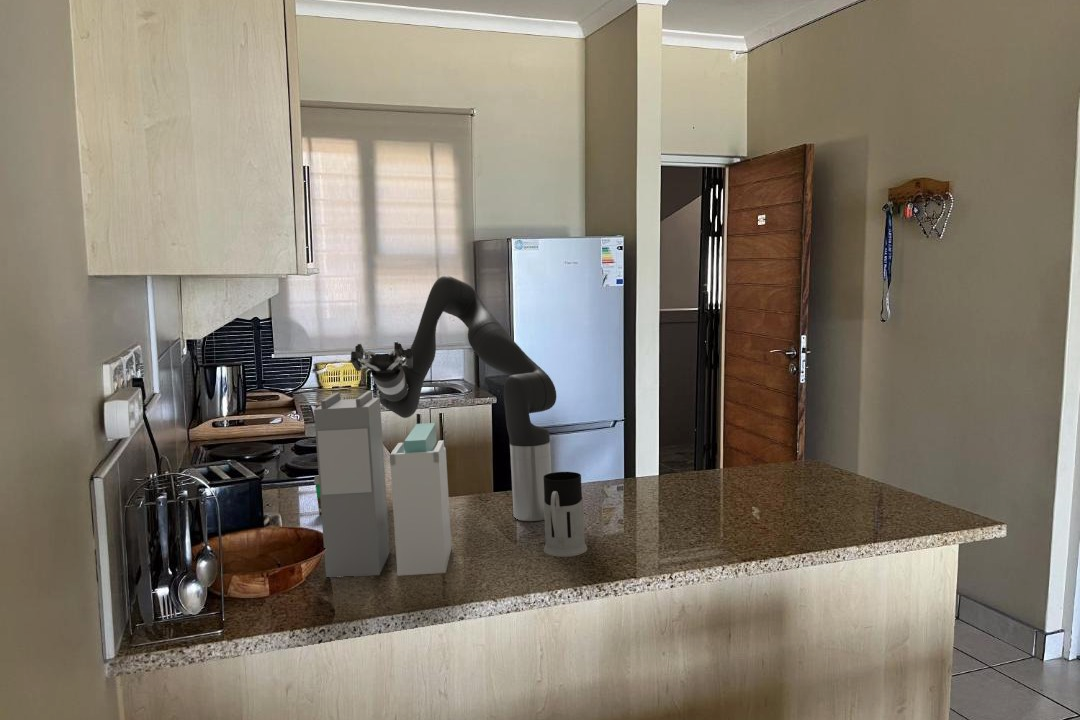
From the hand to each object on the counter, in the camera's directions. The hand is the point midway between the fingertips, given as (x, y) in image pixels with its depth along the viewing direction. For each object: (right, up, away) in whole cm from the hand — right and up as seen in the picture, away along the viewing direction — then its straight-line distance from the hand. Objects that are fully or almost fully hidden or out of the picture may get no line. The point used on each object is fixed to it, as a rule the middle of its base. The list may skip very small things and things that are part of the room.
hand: (377, 346), depth 187 cm
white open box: (+15, -43, -28) cm, 53 cm away
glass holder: (+42, -42, -27) cm, 65 cm away
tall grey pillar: (+2, -43, -28) cm, 52 cm away
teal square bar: (+14, -21, -25) cm, 36 cm away
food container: (-12, -41, +15) cm, 45 cm away
